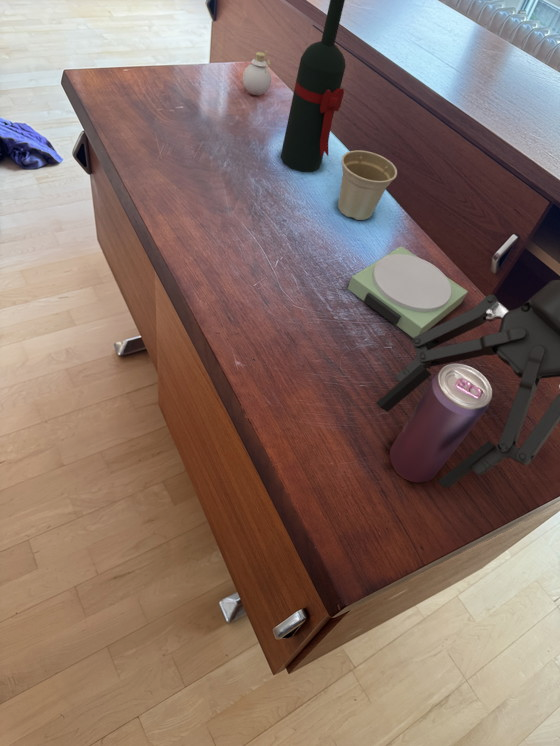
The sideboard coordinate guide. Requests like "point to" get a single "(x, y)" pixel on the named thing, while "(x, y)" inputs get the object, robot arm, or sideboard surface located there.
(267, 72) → the ornament
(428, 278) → the scale
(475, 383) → the beverage can
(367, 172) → the flower pot
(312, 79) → the wine bottle
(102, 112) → the sideboard surface
